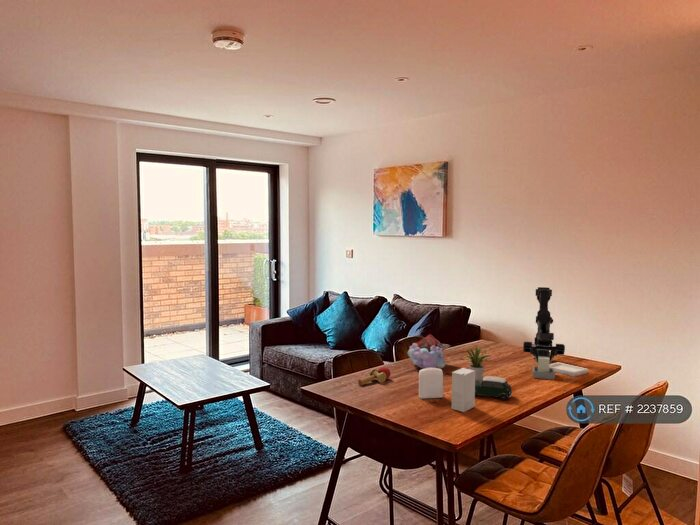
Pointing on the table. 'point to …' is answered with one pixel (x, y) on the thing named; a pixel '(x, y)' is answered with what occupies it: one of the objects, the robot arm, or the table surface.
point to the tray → (568, 369)
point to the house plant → (477, 362)
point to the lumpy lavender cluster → (428, 353)
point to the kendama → (376, 376)
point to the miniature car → (493, 387)
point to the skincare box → (463, 389)
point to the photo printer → (430, 383)
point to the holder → (544, 374)
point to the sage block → (543, 364)
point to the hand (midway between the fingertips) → (543, 363)
